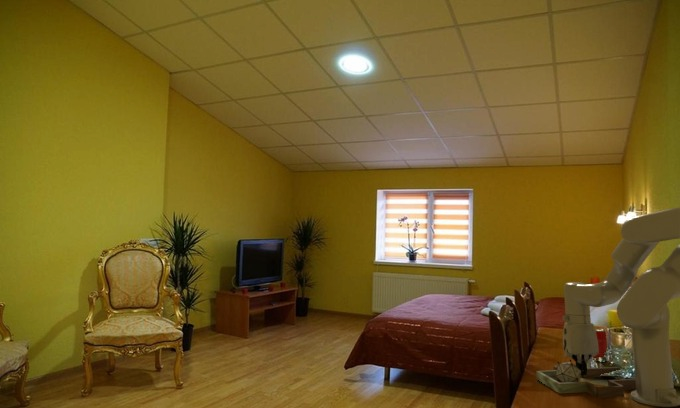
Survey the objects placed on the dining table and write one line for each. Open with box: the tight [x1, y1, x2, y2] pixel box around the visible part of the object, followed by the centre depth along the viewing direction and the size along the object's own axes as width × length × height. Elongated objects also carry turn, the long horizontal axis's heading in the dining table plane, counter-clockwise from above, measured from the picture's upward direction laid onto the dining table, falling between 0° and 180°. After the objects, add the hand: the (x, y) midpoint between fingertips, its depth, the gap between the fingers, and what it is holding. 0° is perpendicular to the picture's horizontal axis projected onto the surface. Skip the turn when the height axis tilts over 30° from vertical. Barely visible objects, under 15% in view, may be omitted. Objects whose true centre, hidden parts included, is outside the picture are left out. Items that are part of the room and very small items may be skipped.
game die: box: [554, 358, 584, 383], centre depth 156 cm, size 9×8×10 cm
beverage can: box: [592, 328, 608, 359], centre depth 185 cm, size 5×5×12 cm
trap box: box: [535, 363, 636, 399], centre depth 156 cm, size 27×30×3 cm
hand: (581, 374), depth 157 cm, fingers closed
